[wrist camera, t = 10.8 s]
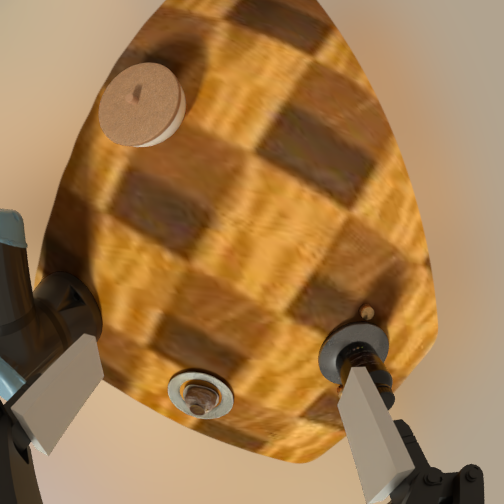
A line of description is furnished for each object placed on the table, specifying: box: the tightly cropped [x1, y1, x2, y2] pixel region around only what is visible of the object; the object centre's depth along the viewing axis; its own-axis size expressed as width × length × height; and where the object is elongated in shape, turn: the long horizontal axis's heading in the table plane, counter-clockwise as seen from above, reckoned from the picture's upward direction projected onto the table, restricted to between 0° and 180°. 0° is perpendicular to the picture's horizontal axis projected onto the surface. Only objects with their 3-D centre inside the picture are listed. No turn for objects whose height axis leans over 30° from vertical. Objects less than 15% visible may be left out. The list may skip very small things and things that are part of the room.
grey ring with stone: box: [168, 372, 233, 419], centre depth 42 cm, size 12×12×5 cm
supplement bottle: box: [335, 341, 395, 410], centre depth 34 cm, size 7×7×12 cm
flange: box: [318, 304, 389, 398], centre depth 40 cm, size 12×18×2 cm, turn 176°
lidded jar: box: [99, 62, 186, 147], centre depth 29 cm, size 11×11×9 cm
